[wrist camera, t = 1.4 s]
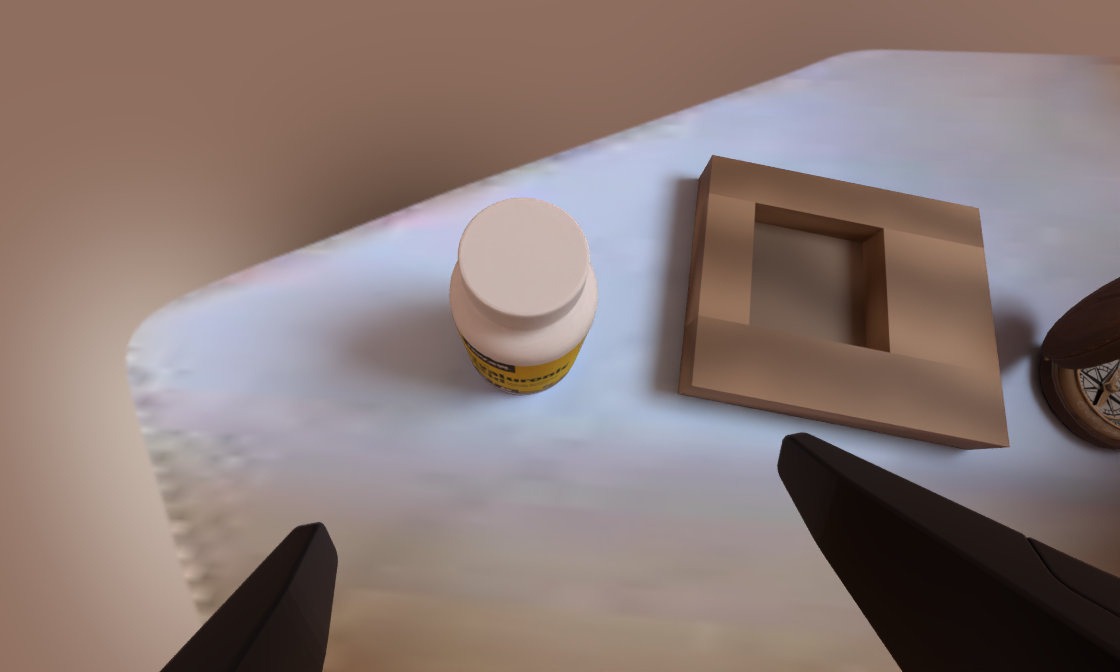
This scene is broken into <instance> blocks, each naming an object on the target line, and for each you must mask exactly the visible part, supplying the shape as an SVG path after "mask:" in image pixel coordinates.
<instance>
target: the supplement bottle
mask: <svg viewBox="0 0 1120 672" xmlns="http://www.w3.org/2000/svg"><path fill="white" fill-rule="evenodd" d="M597 301H598V289H597V281H596V277H595V273H594V270H593V268H592V266H591V264H590V253H589V247H588V243H587V240H586V237H585V235H584V233H583V231H582V230H581V228H580V226H579V225H578V223H577V222H576V221H575V220H574V219H573V218H572V217H571V216H570V215H569V214H568V213H566V212H565V211H564V210H562V209H561V208H559V207H557V206H555V205H553V204H551V203H548V202H546V201H542V200H538V199H533V198H512V199H507V200H503V201H500V202H497V203H495V204H492V205H491V206H489V207H487V208H485V209H484V210H482V211H481V212H480V213H478V214H477V215H476V216H475V217H474V218H473V219H472V220H471V221H470V223H469V224H468V226H467V227H466V229H465V230H464V232H463V235H462V237H461V240H460V243H459V248H458V261H457V263H456V265H455V267H454V270H453V273H452V277H451V282H450V306H451V311H452V315H453V318H454V321H455V323H456V326H457V329H458V331H459V333H460V335H461V338H462V340H463V342H464V344H465V347H466V349H467V351H468V353H469V355H470V358H471V360H472V362H473V364H474V366H475V368H476V369H477V370H478V372H479V373H480V375H481V376H482V377H483V378H484V379H485V380H486V381H487V382H489V383H490V384H491V385H493V386H494V387H496V388H498V389H500V390H502V391H505V392H508V393H512V394H519V395H529V394H535V393H539V392H542V391H545V390H547V389H549V388H551V387H553V386H554V385H556V384H557V383H558V382H559V381H561V380H562V379H563V378H564V377H565V375H566V374H567V373H568V372H569V370H570V368H571V367H572V365H573V363H574V362H575V359H576V357H577V355H578V353H579V351H580V349H581V347H582V344H583V342H584V340H585V338H586V336H587V334H588V331H589V329H590V327H591V325H592V323H593V320H594V317H595V313H596V308H597Z"/></svg>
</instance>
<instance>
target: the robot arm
mask: <svg viewBox="0 0 1120 672" xmlns="http://www.w3.org/2000/svg"><path fill="white" fill-rule="evenodd" d="M777 467H778V473H779V476H780V478H781V480H782V482H783V484H784V485H785V487H786V489H787V491H788V493H789V495H790V496H791V498H792V500H793V502H794V504H795V506H796V507H797V509H798V511H799V513H800V515H801V517H802V519H803V520H804V522H805V524H806V526H807V528H808V530H809V531H810V533H811V535H812V537H813V538H814V540H815V542H816V544H817V545H818V547H819V548H820V550H821V552H822V553H823V555H824V556H825V558H826V559H827V561H828V562H829V564H830V565H831V567H832V568H833V570H834V571H835V573H836V574H837V575H838V577H839V578H840V580H841V581H842V583H843V584H844V586H845V587H846V589H847V590H848V592H849V593H850V595H851V596H852V598H853V599H854V601H855V602H856V604H857V605H858V607H859V608H860V610H861V611H862V613H863V614H864V615H865V617H866V618H867V620H868V621H869V623H870V624H871V626H872V627H873V629H874V630H875V632H876V633H877V635H878V636H879V638H880V639H881V641H882V642H883V644H884V645H885V647H886V648H887V650H888V651H889V653H890V654H891V655H892V657H893V658H894V660H895V661H896V663H897V664H898V666H899V667H900V669H901V670H902V672H1120V578H1118V577H1116V576H1114V575H1111V574H1109V573H1107V572H1104V571H1102V570H1100V569H1098V568H1096V567H1093V566H1091V565H1089V564H1087V563H1085V562H1082V561H1080V560H1078V559H1076V558H1074V557H1071V556H1069V555H1067V554H1065V553H1063V552H1060V551H1058V550H1056V549H1054V548H1052V547H1050V546H1048V545H1045V544H1043V543H1041V542H1039V541H1037V540H1035V539H1033V538H1030V537H1028V538H1026V537H1025V535H1023V534H1022V533H1020V532H1017V531H1015V530H1013V529H1011V528H1009V527H1007V526H1005V525H1002V524H1000V523H998V522H996V521H994V520H992V519H990V518H988V517H985V516H983V515H981V514H979V513H977V512H975V511H973V510H970V509H968V508H966V507H964V506H962V505H960V504H958V503H955V502H953V501H951V500H949V499H947V498H945V497H943V496H941V495H938V494H936V493H934V492H932V491H930V490H928V489H926V488H923V487H921V486H919V485H917V484H915V483H913V482H911V481H908V480H906V479H904V478H902V477H900V476H898V475H896V474H894V473H891V472H889V471H887V470H885V469H883V468H881V467H879V466H876V465H874V464H872V463H870V462H868V461H866V460H864V459H861V458H859V457H857V456H855V455H853V454H851V453H849V452H846V451H844V450H842V449H840V448H838V447H836V446H834V445H832V444H829V443H827V442H825V441H823V440H821V439H819V438H817V437H814V436H812V435H810V434H808V433H796V434H791V435H787V436H785V437H784V439H783V441H782V445H781V450H780V454H779V459H778V465H777ZM337 565H338V556H337V551H336V549H335V546H334V544H333V542H332V540H331V538H330V536H329V533H328V531H327V529H326V527H325V526H324V524H323V523H321V522H316V523H310V524H305V525H300V526H298V527H296V528H295V529H293V530H292V531H291V532H290V534H289V535H288V536H287V537H286V538H285V539H284V540H283V541H282V542H281V543H280V544H279V545H278V546H277V547H276V548H275V549H274V551H273V552H272V553H271V554H270V555H269V556H268V557H267V558H266V559H265V560H264V561H263V562H262V563H261V564H260V565H259V566H258V568H257V569H256V570H255V571H254V572H253V573H252V574H251V575H250V576H249V577H248V578H247V579H246V580H245V581H244V582H243V583H242V585H241V586H240V587H239V588H238V589H237V590H236V591H235V592H234V593H233V594H232V595H231V596H230V597H229V598H228V599H227V600H226V602H225V603H224V604H223V605H222V606H221V607H220V608H219V609H218V610H217V611H216V612H215V613H214V614H213V615H212V616H211V617H210V619H209V620H208V621H207V622H206V623H205V624H204V625H203V626H202V627H201V628H200V629H199V630H198V631H197V632H196V634H195V635H194V636H193V637H192V638H191V639H190V640H189V641H188V642H187V643H186V644H185V645H184V646H183V647H182V648H181V649H180V651H179V652H178V653H177V654H176V655H175V656H174V657H173V658H172V659H171V660H170V661H169V662H168V663H167V664H166V665H165V667H164V668H163V669H162V670H161V671H160V672H322V669H323V665H324V660H325V655H326V649H327V642H328V635H329V628H330V620H331V612H332V604H333V596H334V589H335V581H336V573H337Z"/></svg>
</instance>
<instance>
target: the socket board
mask: <svg viewBox="0 0 1120 672" xmlns="http://www.w3.org/2000/svg"><path fill="white" fill-rule="evenodd" d="M678 394H683V395H688V396H693V397H699V398H704V399H709V400H714V401H719V402H724V403H730V404H735V405H740V406H745V407H750V408H756V409H761V410H766V411H771V412H776V413H781V414H787V415H792V416H797V417H802V418H807V419H813V420H818V421H823V422H828V423H833V424H839V425H844V426H849V427H854V428H859V429H864V430H870V431H875V432H880V433H885V434H890V435H896V436H901V437H906V438H911V439H916V440H922V441H927V442H932V443H937V444H942V445H947V446H953V447H958V448H963V449H968V450H973V449H987V448H1002V447H1010V446H1009V438H1008V430H1007V422H1006V415H1005V407H1004V399H1003V391H1002V384H1001V376H1000V368H999V360H998V353H997V345H996V337H995V330H994V322H993V314H992V306H991V299H990V291H989V283H988V275H987V268H986V260H985V252H984V245H983V237H982V229H981V221H980V214H979V208H974V207H969V206H964V205H959V204H954V203H949V202H944V201H939V200H934V199H929V198H924V197H919V196H914V195H909V194H904V193H899V192H895V191H890V190H885V189H880V188H875V187H870V186H865V185H860V184H855V183H850V182H845V181H840V180H835V179H830V178H825V177H820V176H815V175H810V174H805V173H800V172H795V171H790V170H785V169H780V168H775V167H770V166H765V165H760V164H755V163H750V162H745V161H740V160H735V159H730V158H725V157H720V156H715V155H712V157H711V159H710V160H709V162H708V164H707V166H706V167H705V169H704V171H703V173H702V174H701V176H700V178H699V186H698V196H697V206H696V216H695V227H694V237H693V247H692V257H691V267H690V277H689V287H688V298H687V308H686V318H685V328H684V338H683V348H682V358H681V369H680V379H679V389H678Z"/></svg>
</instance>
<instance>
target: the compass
mask: <svg viewBox="0 0 1120 672" xmlns="http://www.w3.org/2000/svg"><path fill="white" fill-rule="evenodd" d="M1042 354H1043V355H1044V356H1043V358H1042V361H1041V372H1040V379H1041V383H1042V387H1043V391H1044V394H1045V396H1046V398H1047V400H1048V402H1049V404H1050V406H1051V408H1052V409H1053V411H1054V412H1055V413H1056V414H1057V416H1058V417H1059V418H1060V419H1061V420H1062V422H1063V423H1064V424H1065V425H1066V426H1068V427H1069V428H1070V429H1071V430H1073V431H1074V432H1075V433H1076V434H1077V435H1079V436H1080V437H1081V438H1083V439H1085V440H1087V441H1089V442H1091V443H1093V444H1095V445H1097V446H1101V447H1105V448H1110V449H1120V277H1119V278H1117V279H1115V280H1114V281H1112V282H1110V283H1108V284H1106V285H1104V286H1102V287H1101V288H1099V289H1098V290H1096V291H1095V292H1093V293H1092V294H1090V295H1089V296H1087V297H1085V298H1084V299H1083V300H1081V301H1080V302H1079V303H1078V304H1076V305H1075V306H1074V307H1072V308H1071V309H1070V310H1069V311H1067V312H1066V313H1065V314H1064V315H1063V316H1062V317H1061V318H1060V319H1059V320H1058V321H1057V322H1056V323H1055V324H1054V325H1053V327H1052V328H1051V329H1050V330H1049V332H1048V333H1047V335H1046V337H1045V339H1044V341H1043V345H1042Z"/></svg>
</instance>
